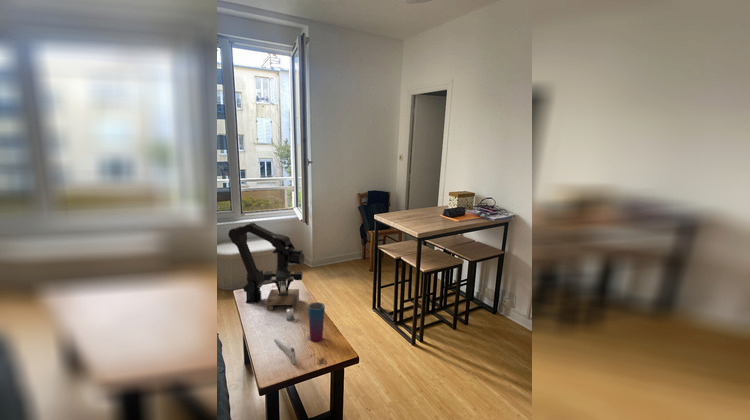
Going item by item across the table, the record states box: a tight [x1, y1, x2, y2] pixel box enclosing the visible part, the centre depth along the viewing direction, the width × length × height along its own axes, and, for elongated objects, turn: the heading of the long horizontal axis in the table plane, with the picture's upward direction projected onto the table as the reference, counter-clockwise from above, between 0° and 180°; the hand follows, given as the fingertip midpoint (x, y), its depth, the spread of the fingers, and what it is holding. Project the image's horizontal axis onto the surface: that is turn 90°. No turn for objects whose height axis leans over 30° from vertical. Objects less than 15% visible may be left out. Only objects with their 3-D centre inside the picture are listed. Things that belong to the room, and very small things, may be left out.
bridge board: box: [266, 288, 300, 312], centre depth 186 cm, size 14×12×6 cm
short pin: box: [285, 307, 295, 322], centre depth 172 cm, size 3×3×5 cm
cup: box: [307, 301, 326, 343], centre depth 154 cm, size 7×7×15 cm
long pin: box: [280, 280, 287, 296], centre depth 185 cm, size 3×3×9 cm
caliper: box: [273, 338, 297, 366], centre depth 145 cm, size 20×1×6 cm, turn 35°
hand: (283, 291), depth 185 cm, fingers closed on long pin, 3 cm apart
